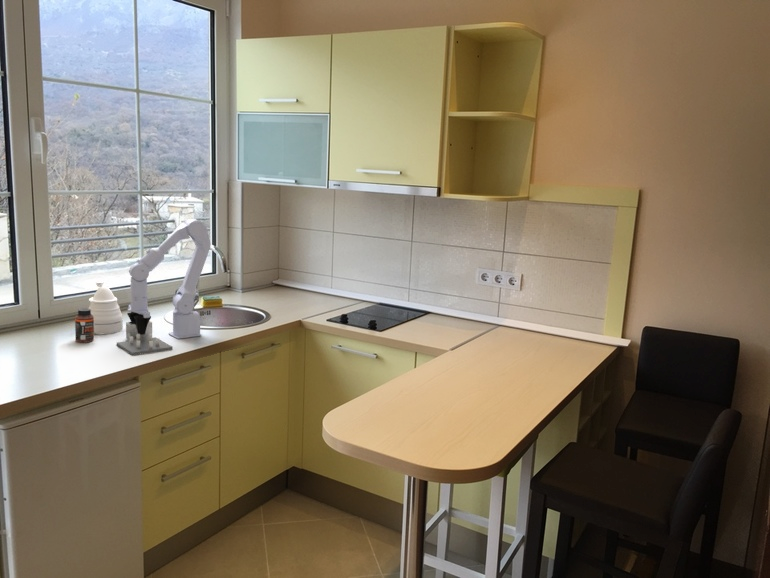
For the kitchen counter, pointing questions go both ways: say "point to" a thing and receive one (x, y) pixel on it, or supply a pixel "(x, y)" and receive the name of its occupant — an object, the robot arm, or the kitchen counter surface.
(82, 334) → the supplement bottle
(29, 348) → the kitchen counter surface
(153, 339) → the pin tray
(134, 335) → the block
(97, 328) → the honey pot
